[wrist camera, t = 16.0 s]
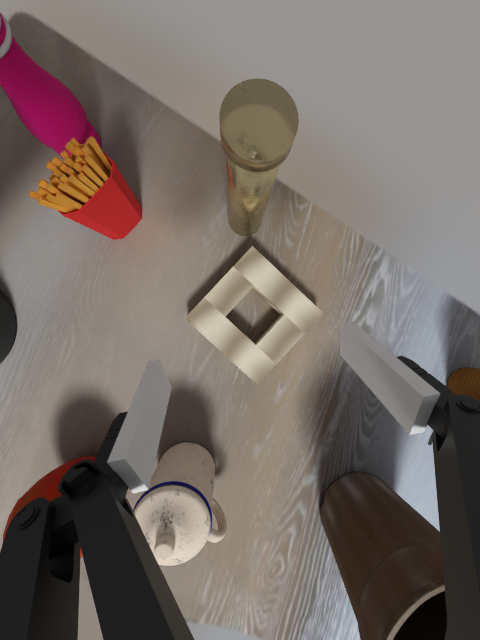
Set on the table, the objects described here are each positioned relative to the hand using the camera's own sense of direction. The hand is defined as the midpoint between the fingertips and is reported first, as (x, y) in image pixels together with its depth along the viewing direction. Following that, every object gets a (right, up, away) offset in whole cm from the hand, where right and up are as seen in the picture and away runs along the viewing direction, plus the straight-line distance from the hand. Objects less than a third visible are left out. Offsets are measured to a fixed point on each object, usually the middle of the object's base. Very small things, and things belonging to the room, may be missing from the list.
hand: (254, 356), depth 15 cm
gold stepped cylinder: (0, +18, +17) cm, 25 cm away
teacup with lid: (-8, -21, +18) cm, 29 cm away
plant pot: (+18, -27, +19) cm, 37 cm away
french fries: (-19, +17, +17) cm, 30 cm away
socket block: (+1, +3, +17) cm, 18 cm away
